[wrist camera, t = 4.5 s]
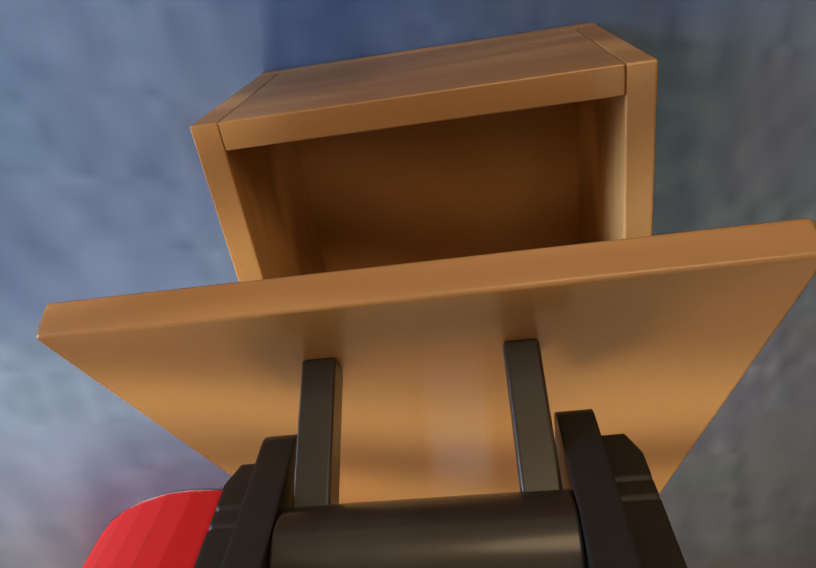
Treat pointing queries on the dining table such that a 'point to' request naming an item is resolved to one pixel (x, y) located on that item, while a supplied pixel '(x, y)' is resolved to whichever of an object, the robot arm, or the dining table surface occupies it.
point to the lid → (447, 381)
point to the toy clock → (157, 532)
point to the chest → (435, 153)
